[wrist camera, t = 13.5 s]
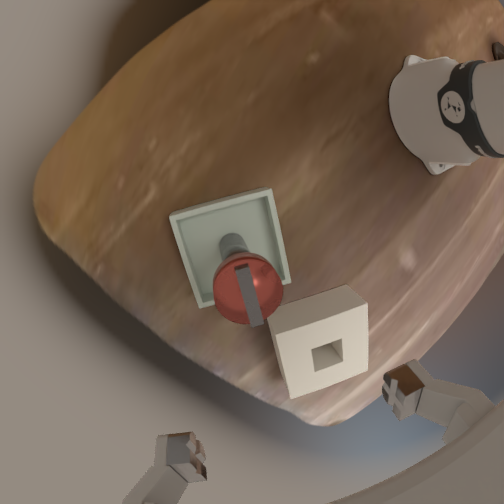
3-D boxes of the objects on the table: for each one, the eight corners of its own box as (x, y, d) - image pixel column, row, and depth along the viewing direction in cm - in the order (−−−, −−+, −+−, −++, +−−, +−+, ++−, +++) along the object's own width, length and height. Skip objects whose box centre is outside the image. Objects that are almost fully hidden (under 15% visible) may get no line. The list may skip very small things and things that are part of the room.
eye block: (346, 284, 38) (367, 303, 33) (351, 348, 42) (367, 370, 37) (264, 310, 37) (275, 334, 32) (280, 372, 41) (290, 399, 36)
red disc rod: (258, 259, 34) (291, 318, 21) (216, 271, 34) (225, 337, 21) (248, 218, 33) (278, 255, 20) (204, 230, 32) (204, 276, 19)
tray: (265, 186, 33) (271, 188, 30) (284, 273, 36) (291, 282, 33) (171, 212, 32) (168, 216, 29) (199, 297, 35) (199, 308, 33)
